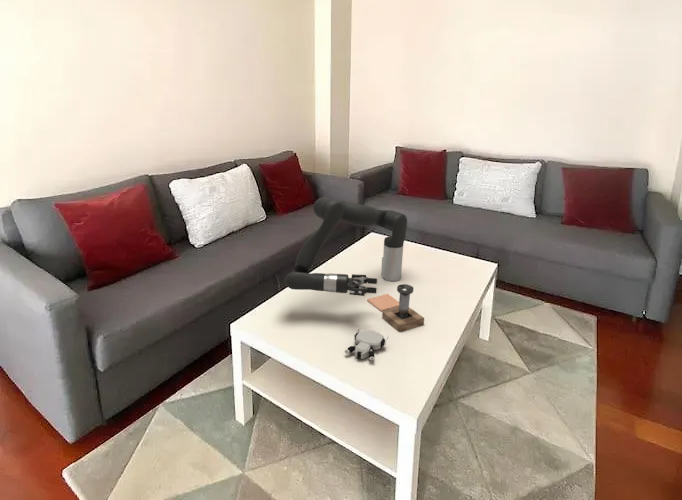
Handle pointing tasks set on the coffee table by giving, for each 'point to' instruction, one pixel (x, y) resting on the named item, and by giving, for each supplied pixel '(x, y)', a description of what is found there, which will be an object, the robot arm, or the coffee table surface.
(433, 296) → the coffee table surface
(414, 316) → the collar
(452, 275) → the coffee table surface
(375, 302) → the pad
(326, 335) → the coffee table surface
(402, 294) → the peg
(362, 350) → the robot toy
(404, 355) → the coffee table surface
